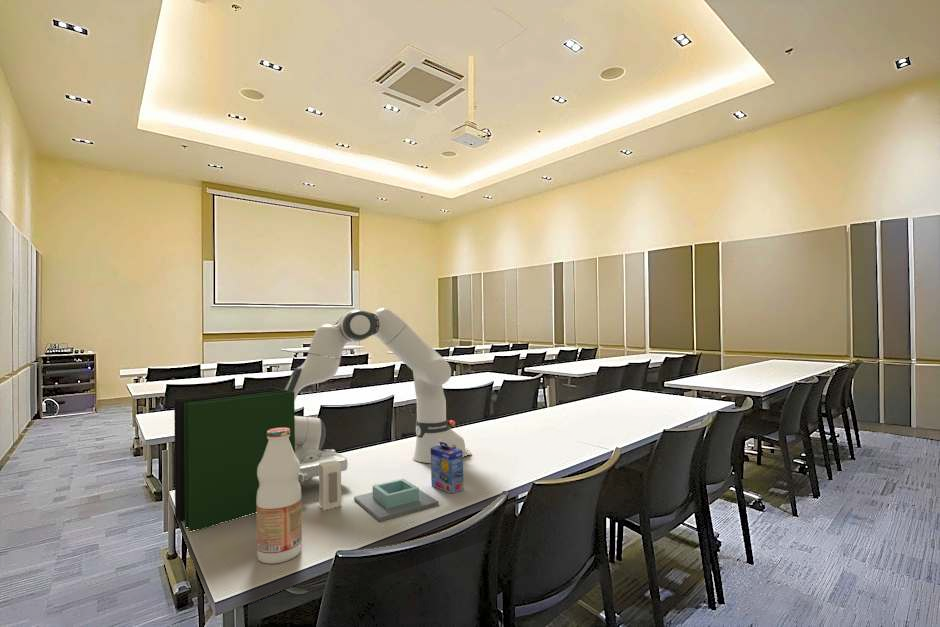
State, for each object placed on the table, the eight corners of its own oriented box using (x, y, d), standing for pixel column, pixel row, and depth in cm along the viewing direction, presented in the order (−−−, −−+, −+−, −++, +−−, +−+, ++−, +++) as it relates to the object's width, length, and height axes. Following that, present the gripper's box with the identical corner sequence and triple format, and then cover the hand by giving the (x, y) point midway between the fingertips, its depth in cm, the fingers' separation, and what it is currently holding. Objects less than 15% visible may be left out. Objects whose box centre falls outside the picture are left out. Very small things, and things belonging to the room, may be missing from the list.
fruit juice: (260, 569, 98) (258, 437, 98) (254, 551, 106) (253, 428, 106) (306, 556, 103) (304, 430, 103) (297, 540, 111) (295, 423, 111)
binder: (190, 533, 115) (189, 405, 115) (173, 516, 125) (172, 398, 126) (295, 501, 135) (294, 391, 135) (273, 489, 145) (272, 387, 145)
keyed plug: (336, 501, 134) (336, 460, 134) (342, 507, 130) (342, 464, 130) (319, 505, 131) (318, 463, 131) (324, 511, 127) (324, 467, 127)
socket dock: (409, 486, 145) (409, 472, 145) (438, 505, 130) (438, 489, 131) (354, 500, 135) (353, 484, 135) (379, 521, 120) (379, 504, 120)
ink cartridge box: (430, 486, 145) (429, 440, 146) (443, 481, 149) (442, 436, 149) (451, 494, 138) (450, 445, 139) (464, 489, 142) (463, 442, 142)
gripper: (273, 459, 143) (284, 471, 132) (338, 448, 155) (353, 458, 144) (274, 480, 143) (284, 493, 132) (338, 467, 155) (353, 478, 144)
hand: (321, 475), depth 138 cm, fingers open, 8 cm apart
